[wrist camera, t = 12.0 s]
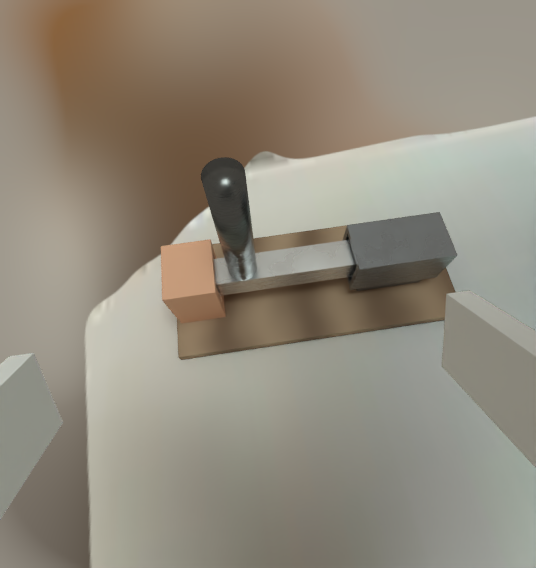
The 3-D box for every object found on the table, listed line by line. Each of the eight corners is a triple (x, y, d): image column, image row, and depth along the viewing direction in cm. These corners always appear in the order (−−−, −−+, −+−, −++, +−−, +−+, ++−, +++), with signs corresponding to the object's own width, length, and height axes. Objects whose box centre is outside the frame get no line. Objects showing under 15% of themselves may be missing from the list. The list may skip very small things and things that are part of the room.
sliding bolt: (367, 249, 33) (422, 130, 20) (374, 273, 32) (436, 163, 19) (185, 276, 32) (125, 170, 20) (186, 300, 31) (124, 205, 19)
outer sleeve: (416, 245, 35) (439, 212, 30) (430, 283, 34) (457, 255, 29) (337, 256, 35) (347, 225, 30) (347, 295, 33) (359, 269, 28)
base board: (421, 220, 38) (424, 214, 37) (459, 317, 33) (464, 314, 32) (176, 254, 37) (173, 249, 36) (181, 359, 32) (178, 357, 32)
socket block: (221, 270, 35) (210, 239, 30) (225, 316, 33) (215, 292, 28) (179, 276, 35) (160, 246, 29) (181, 323, 33) (162, 300, 27)
